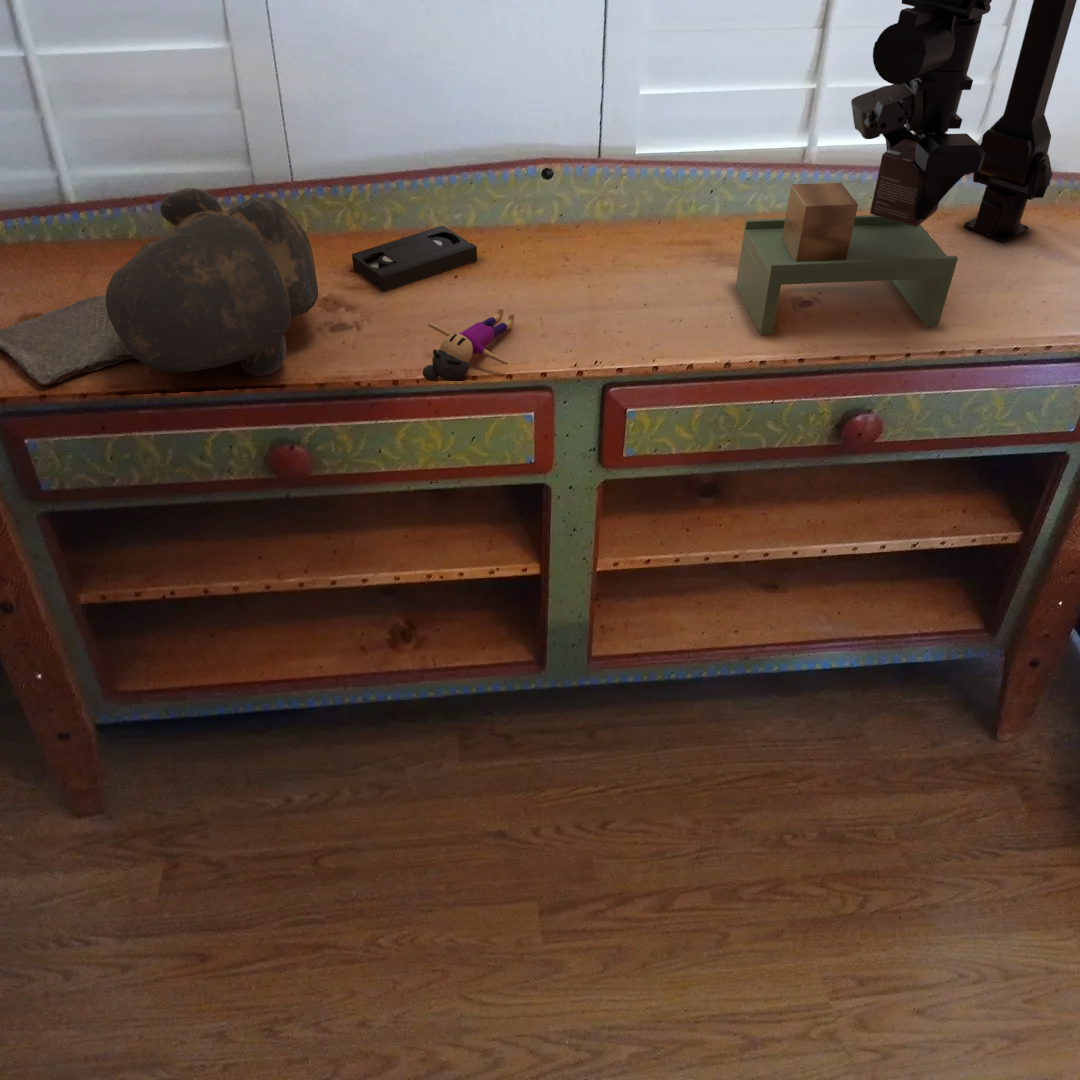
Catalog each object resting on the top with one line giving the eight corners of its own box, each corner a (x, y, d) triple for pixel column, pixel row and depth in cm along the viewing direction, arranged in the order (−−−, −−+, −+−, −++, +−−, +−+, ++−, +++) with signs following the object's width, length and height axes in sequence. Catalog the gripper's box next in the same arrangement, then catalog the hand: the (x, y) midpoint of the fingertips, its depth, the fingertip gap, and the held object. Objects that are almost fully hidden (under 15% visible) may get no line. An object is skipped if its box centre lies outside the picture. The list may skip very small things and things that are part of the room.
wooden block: (829, 239, 128) (841, 182, 124) (845, 262, 124) (858, 204, 119) (781, 240, 128) (791, 184, 123) (795, 264, 123) (806, 206, 118)
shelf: (902, 279, 138) (919, 213, 132) (938, 326, 129) (958, 257, 123) (735, 286, 136) (745, 219, 130) (760, 335, 127) (771, 265, 121)
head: (250, 151, 125) (49, 239, 117) (310, 136, 106) (76, 240, 98) (328, 314, 135) (146, 407, 126) (395, 327, 116) (187, 437, 108)
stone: (173, 330, 121) (50, 384, 113) (178, 352, 123) (58, 406, 115) (93, 278, 129) (-27, 325, 121) (99, 299, 131) (-18, 346, 123)
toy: (547, 324, 125) (488, 365, 113) (535, 364, 128) (476, 409, 116) (472, 287, 127) (406, 324, 115) (461, 327, 130) (396, 367, 118)
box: (937, 212, 126) (954, 150, 121) (916, 229, 122) (933, 166, 117) (889, 198, 129) (904, 137, 124) (867, 214, 125) (882, 152, 120)
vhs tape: (443, 239, 145) (442, 225, 143) (477, 260, 140) (476, 246, 139) (352, 268, 138) (350, 254, 137) (384, 292, 133) (382, 277, 132)
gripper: (841, 38, 121) (815, 173, 131) (899, 93, 107) (865, 240, 117) (935, 37, 122) (902, 171, 132) (1006, 92, 108) (962, 237, 118)
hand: (905, 203), depth 125 cm, fingers closed on box, 8 cm apart
